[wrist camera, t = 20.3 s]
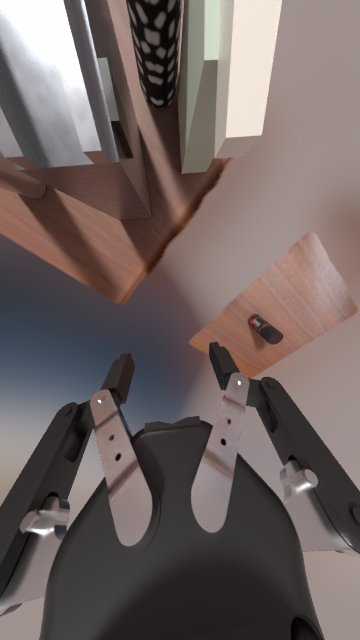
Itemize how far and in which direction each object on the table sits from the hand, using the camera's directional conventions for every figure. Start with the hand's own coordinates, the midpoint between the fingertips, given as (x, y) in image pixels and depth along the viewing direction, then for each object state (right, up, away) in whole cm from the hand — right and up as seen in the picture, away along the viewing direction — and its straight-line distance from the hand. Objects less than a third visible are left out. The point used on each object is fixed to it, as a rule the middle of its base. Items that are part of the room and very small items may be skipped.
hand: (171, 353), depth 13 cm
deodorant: (+37, +4, +51) cm, 63 cm away
